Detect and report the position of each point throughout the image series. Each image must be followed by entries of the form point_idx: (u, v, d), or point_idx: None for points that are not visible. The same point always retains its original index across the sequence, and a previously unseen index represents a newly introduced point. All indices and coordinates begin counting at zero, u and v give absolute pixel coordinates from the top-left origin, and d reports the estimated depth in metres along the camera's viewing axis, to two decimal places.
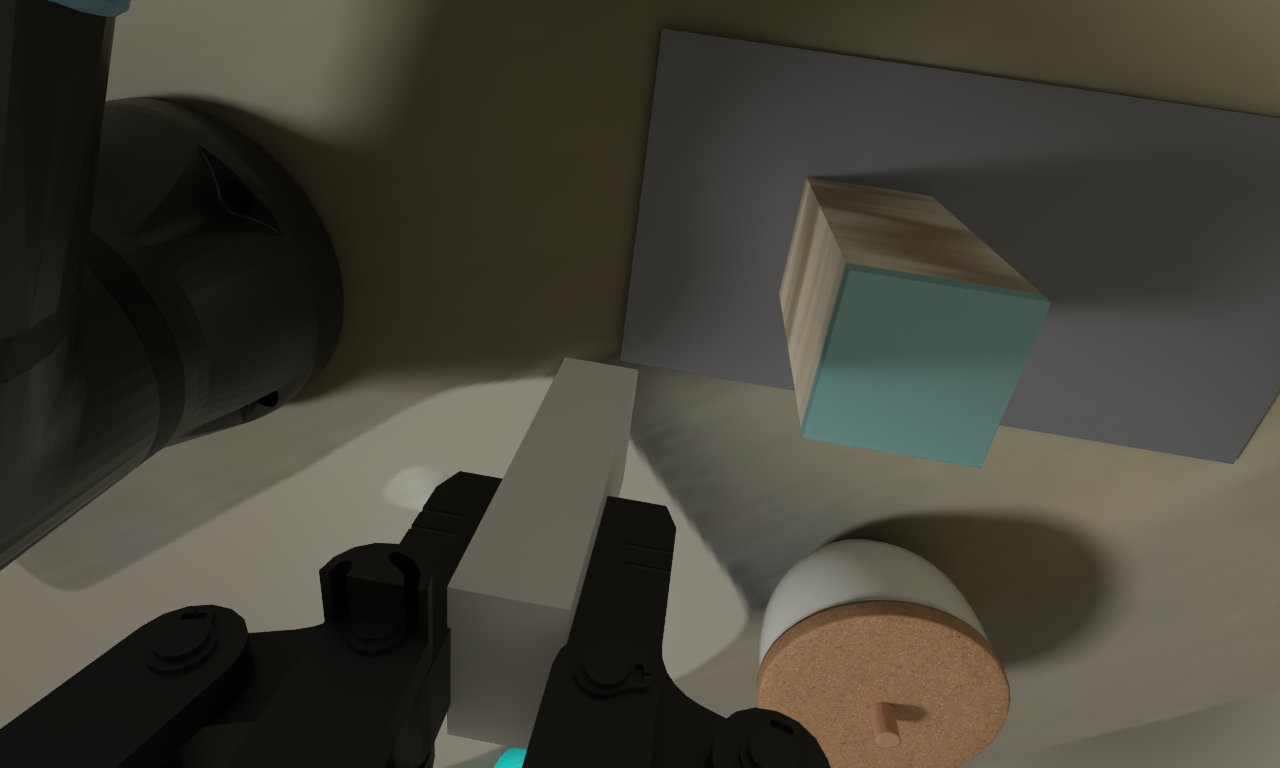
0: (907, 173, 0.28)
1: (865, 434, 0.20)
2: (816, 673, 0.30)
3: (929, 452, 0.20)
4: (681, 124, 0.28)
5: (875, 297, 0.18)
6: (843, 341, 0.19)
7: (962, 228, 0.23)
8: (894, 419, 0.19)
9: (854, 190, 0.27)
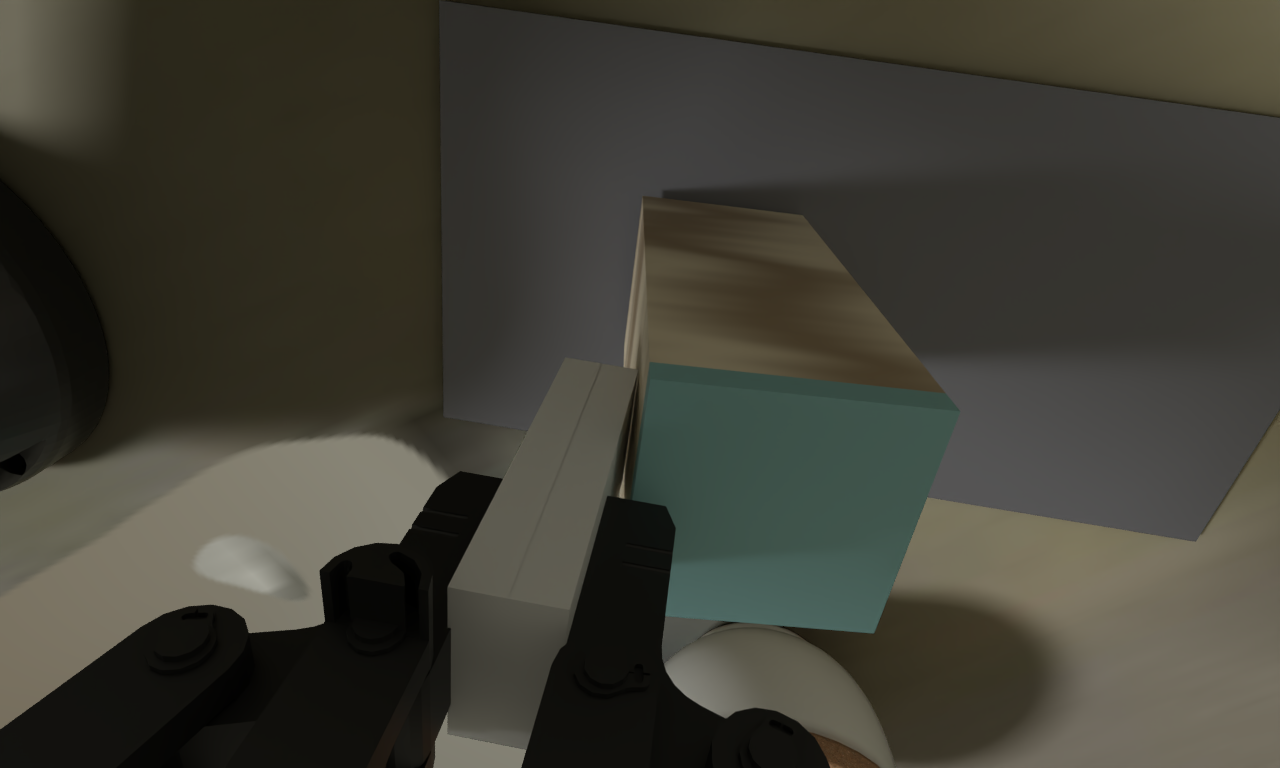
0: (769, 186, 0.22)
1: (707, 601, 0.13)
2: None
3: (801, 618, 0.13)
4: (479, 125, 0.22)
5: (696, 416, 0.11)
6: (656, 480, 0.12)
7: (837, 268, 0.17)
8: (746, 580, 0.13)
9: (702, 213, 0.20)
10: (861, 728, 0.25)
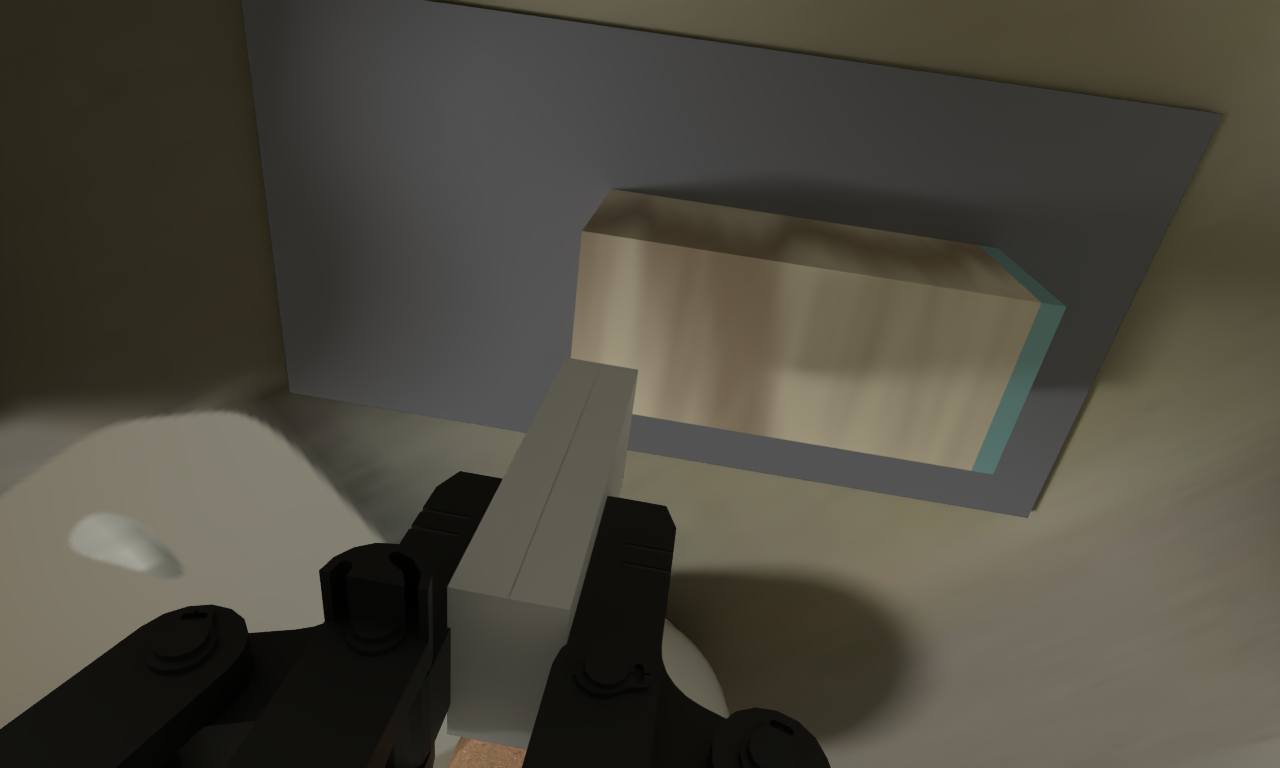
0: (575, 160, 0.22)
1: None
2: None
3: None
4: (291, 98, 0.22)
5: None
6: None
7: (775, 215, 0.22)
8: None
9: (642, 221, 0.19)
10: None
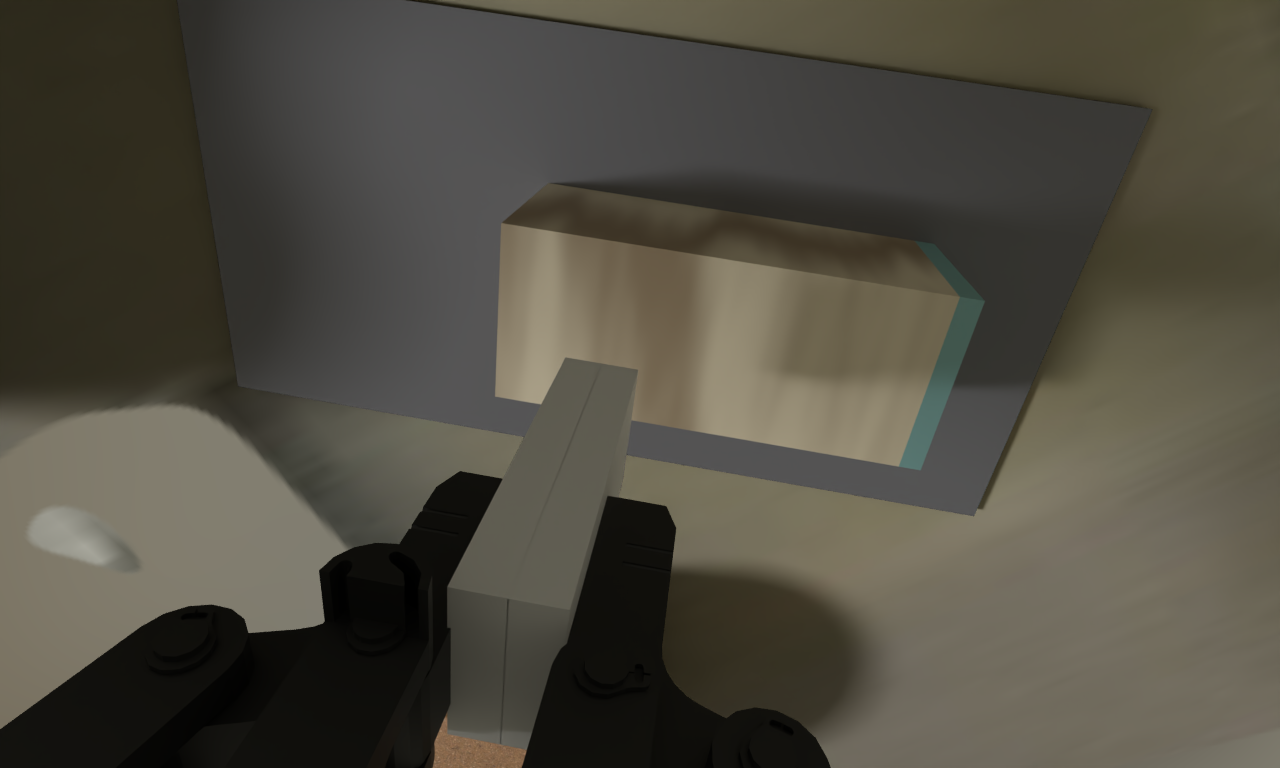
0: (511, 154, 0.22)
1: None
2: None
3: None
4: (228, 91, 0.22)
5: None
6: None
7: (711, 210, 0.22)
8: None
9: (568, 214, 0.19)
10: None
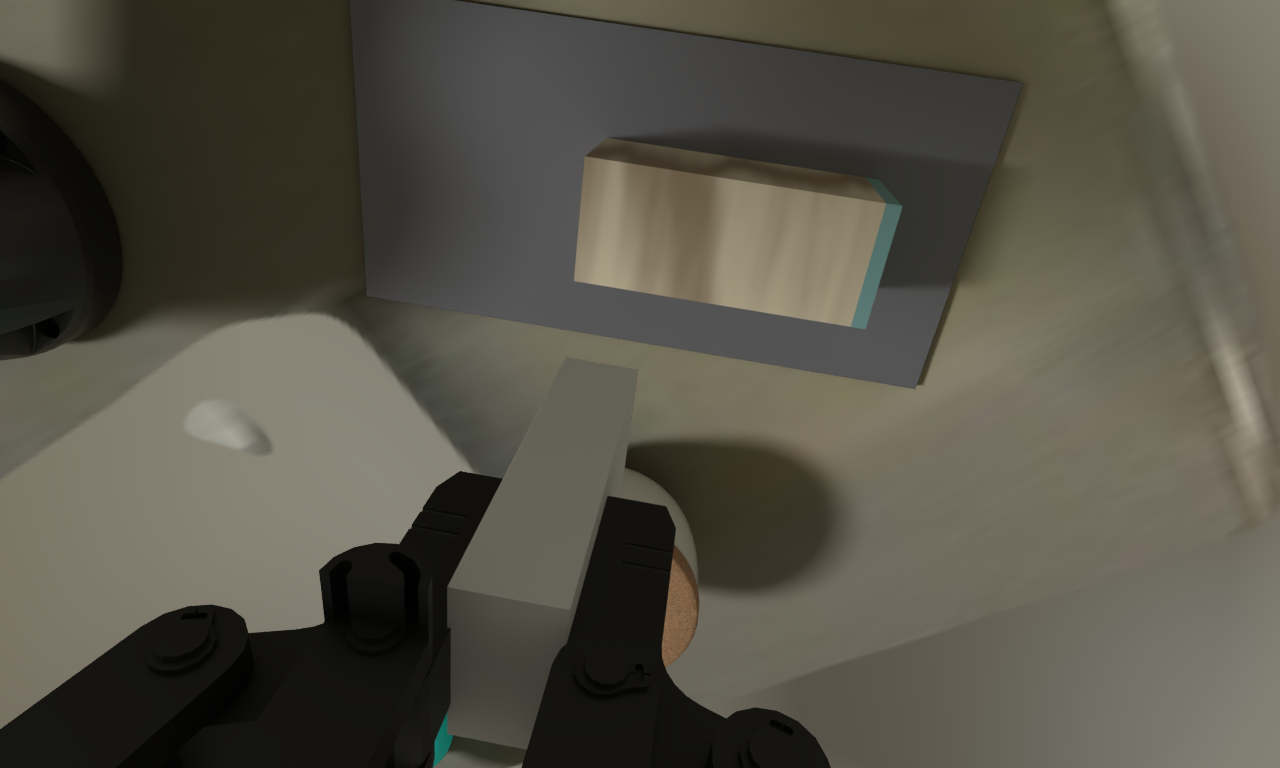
0: (581, 116, 0.31)
1: None
2: None
3: None
4: (380, 72, 0.31)
5: None
6: None
7: (722, 156, 0.31)
8: None
9: (626, 154, 0.28)
10: None
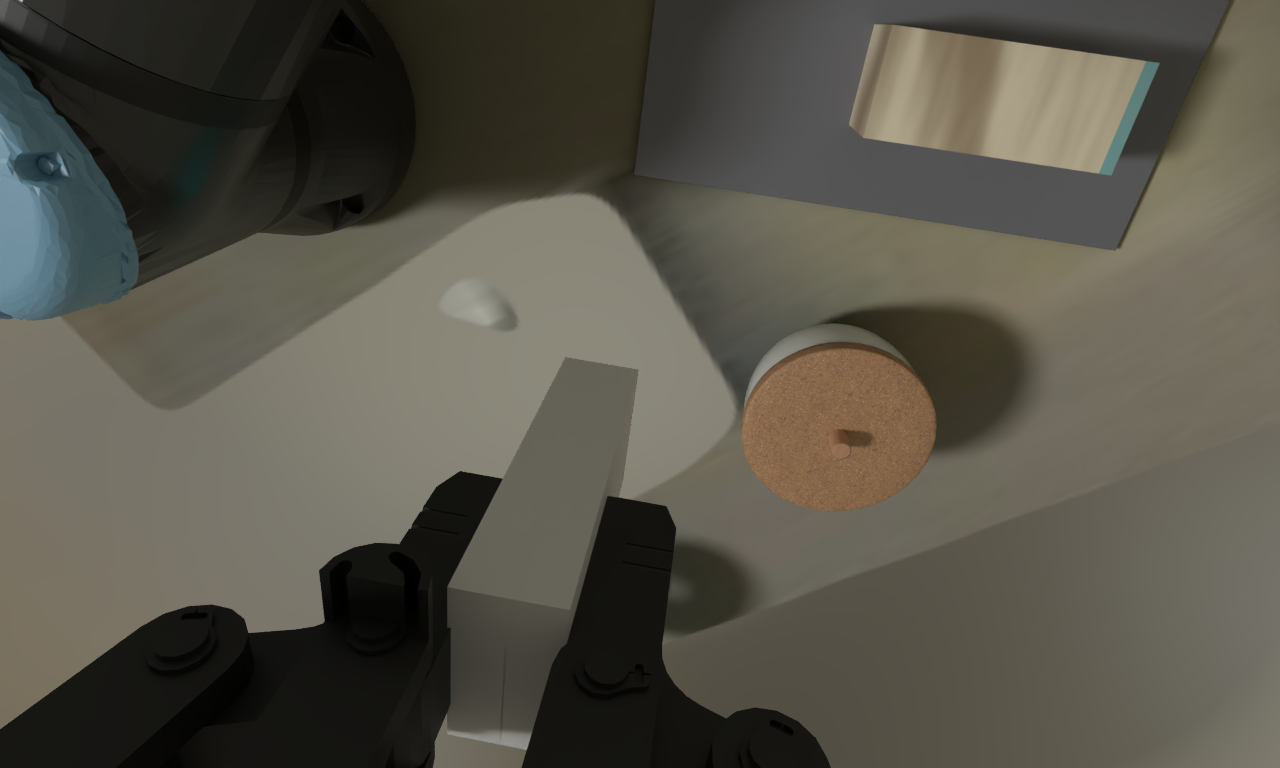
0: (854, 5, 0.37)
1: None
2: (786, 404, 0.39)
3: None
4: None
5: None
6: None
7: None
8: None
9: None
10: (902, 358, 0.40)
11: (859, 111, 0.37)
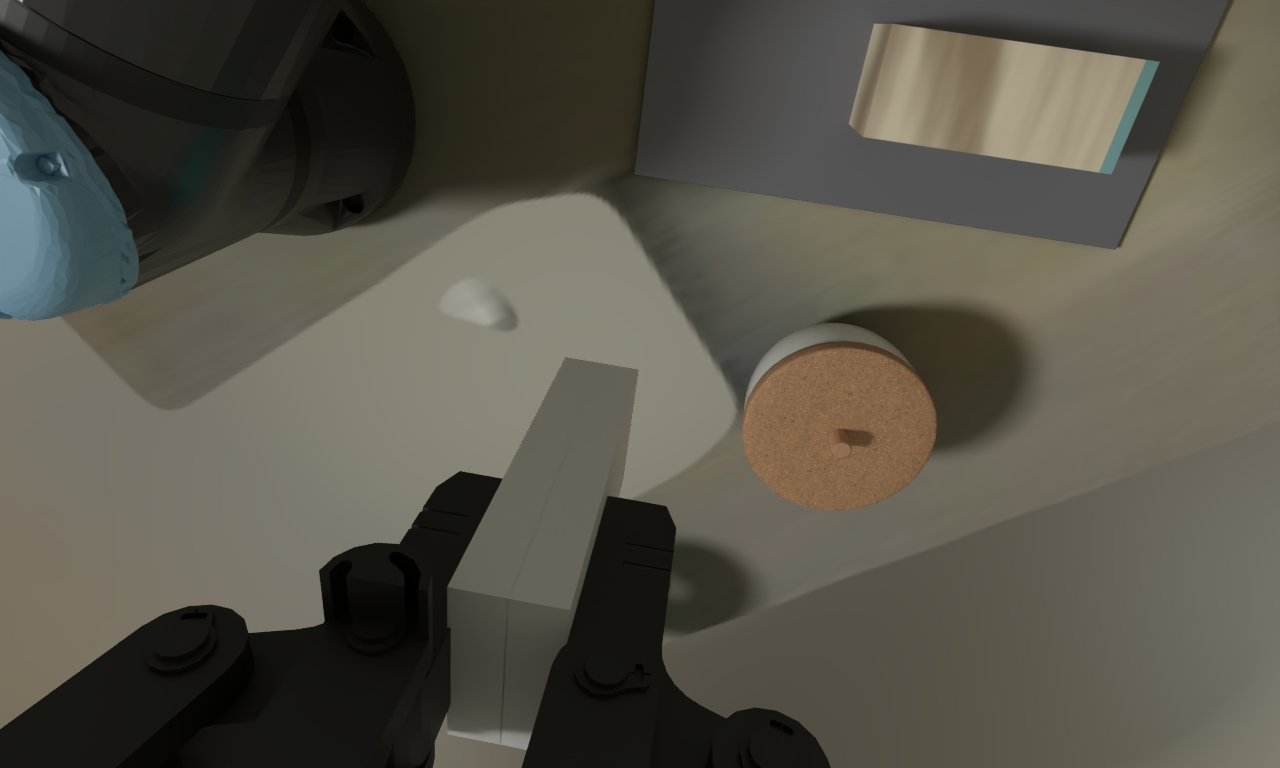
0: (854, 5, 0.37)
1: None
2: (787, 404, 0.39)
3: None
4: None
5: None
6: None
7: None
8: None
9: None
10: (903, 357, 0.40)
11: (859, 110, 0.37)
